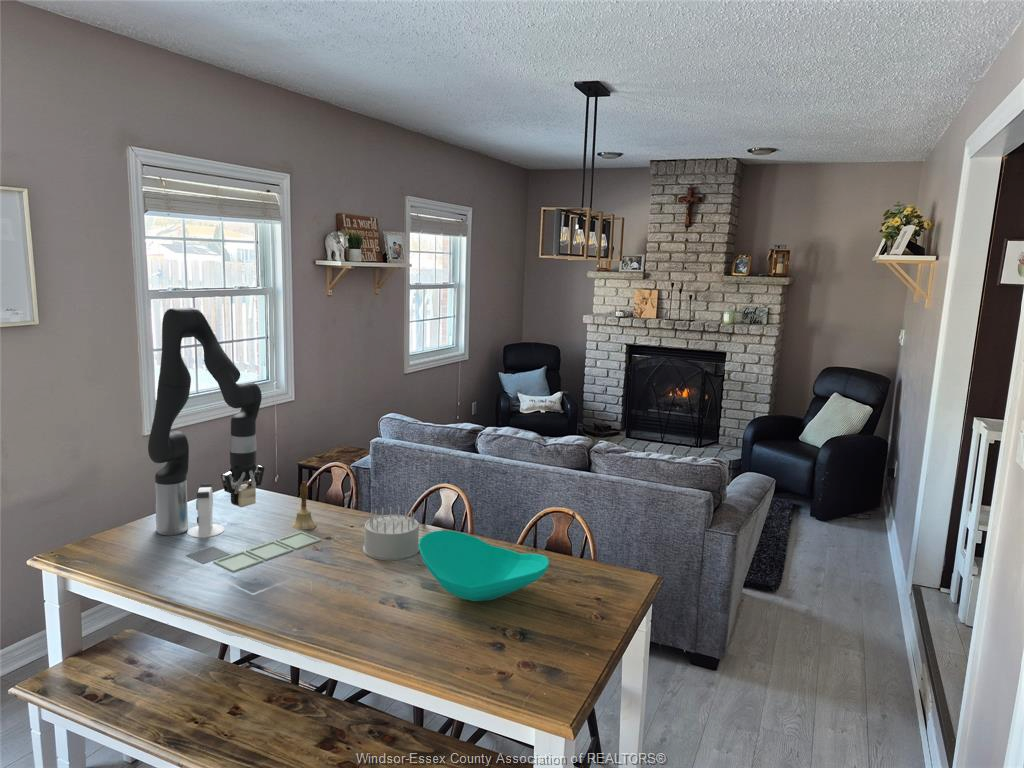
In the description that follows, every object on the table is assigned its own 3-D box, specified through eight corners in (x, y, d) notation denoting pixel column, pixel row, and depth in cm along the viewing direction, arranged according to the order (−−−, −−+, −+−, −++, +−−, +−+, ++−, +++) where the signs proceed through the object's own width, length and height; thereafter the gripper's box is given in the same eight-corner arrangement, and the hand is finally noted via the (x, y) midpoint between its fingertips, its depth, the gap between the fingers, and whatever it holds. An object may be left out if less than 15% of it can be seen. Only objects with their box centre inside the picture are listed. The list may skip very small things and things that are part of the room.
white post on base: (189, 525, 239) (188, 482, 237) (225, 523, 243) (225, 481, 240) (185, 539, 228) (183, 494, 225) (222, 536, 231) (221, 492, 229)
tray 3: (276, 542, 228) (276, 539, 228) (301, 534, 236) (301, 531, 236) (295, 551, 223) (295, 548, 223) (321, 541, 231) (321, 538, 231)
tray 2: (246, 553, 219) (246, 549, 219) (273, 543, 228) (273, 540, 227) (265, 561, 214) (265, 558, 214) (293, 552, 222) (293, 548, 222)
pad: (185, 557, 214) (185, 555, 214) (213, 548, 222) (213, 546, 222) (202, 565, 209) (202, 563, 209) (230, 556, 217) (230, 554, 217)
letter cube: (231, 503, 216) (231, 487, 215) (245, 499, 220) (245, 483, 219) (241, 507, 213) (241, 491, 212) (255, 503, 217) (255, 487, 216)
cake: (410, 563, 218) (411, 522, 216) (354, 557, 220) (354, 516, 218) (426, 541, 235) (427, 503, 233) (374, 536, 238) (375, 498, 236)
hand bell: (289, 523, 245) (289, 479, 243) (314, 521, 249) (314, 477, 246) (293, 532, 238) (293, 486, 235) (318, 529, 241) (318, 484, 239)
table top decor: (394, 593, 198) (395, 549, 195) (451, 560, 221) (453, 520, 219) (516, 636, 178) (519, 587, 176) (565, 595, 202) (568, 551, 199)
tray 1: (213, 564, 211) (213, 560, 210) (243, 553, 219) (243, 550, 219) (233, 573, 205) (233, 570, 205) (263, 562, 213) (263, 559, 213)
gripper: (255, 442, 221) (255, 493, 224) (214, 450, 210) (214, 505, 213) (271, 446, 217) (270, 499, 220) (229, 455, 206) (229, 511, 209)
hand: (243, 502), depth 216 cm, fingers closed on letter cube, 5 cm apart
